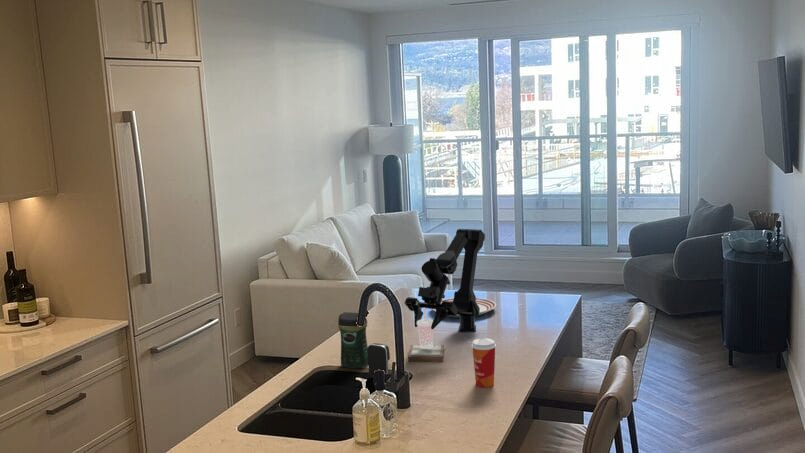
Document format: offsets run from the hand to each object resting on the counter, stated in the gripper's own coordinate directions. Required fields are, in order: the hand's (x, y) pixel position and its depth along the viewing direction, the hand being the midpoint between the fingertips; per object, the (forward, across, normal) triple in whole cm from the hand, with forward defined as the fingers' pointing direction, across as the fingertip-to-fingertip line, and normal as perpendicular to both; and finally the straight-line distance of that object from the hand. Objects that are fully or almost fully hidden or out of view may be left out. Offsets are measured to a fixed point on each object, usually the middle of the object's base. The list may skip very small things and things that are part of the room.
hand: (423, 327), depth 271 cm
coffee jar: (+19, -18, -4) cm, 27 cm away
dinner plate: (-31, -12, +48) cm, 59 cm away
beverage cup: (+4, 0, +6) cm, 7 cm away
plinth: (+7, 0, +8) cm, 11 cm away
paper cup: (+18, +30, -3) cm, 35 cm away
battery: (+24, -4, -9) cm, 26 cm away
